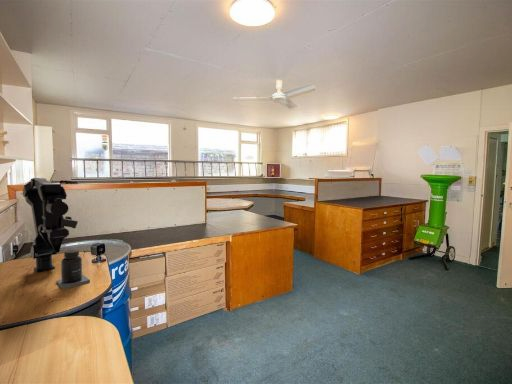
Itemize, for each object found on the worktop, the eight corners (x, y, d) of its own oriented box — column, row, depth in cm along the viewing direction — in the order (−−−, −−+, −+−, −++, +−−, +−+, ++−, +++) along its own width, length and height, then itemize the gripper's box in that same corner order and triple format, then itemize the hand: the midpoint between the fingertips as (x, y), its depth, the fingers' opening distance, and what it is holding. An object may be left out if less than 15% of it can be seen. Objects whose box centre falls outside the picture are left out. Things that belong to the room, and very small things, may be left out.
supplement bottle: (77, 283, 102) (76, 253, 101) (58, 284, 101) (57, 254, 100) (85, 276, 109) (84, 248, 108) (66, 277, 107) (66, 249, 106)
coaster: (56, 282, 104) (56, 280, 104) (81, 276, 111) (81, 273, 111) (63, 289, 99) (63, 287, 98) (89, 281, 106) (89, 279, 106)
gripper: (82, 213, 107) (84, 250, 108) (68, 209, 118) (69, 242, 119) (49, 216, 98) (51, 256, 99) (36, 211, 109) (38, 247, 111)
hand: (54, 250), depth 107 cm, fingers open, 9 cm apart
